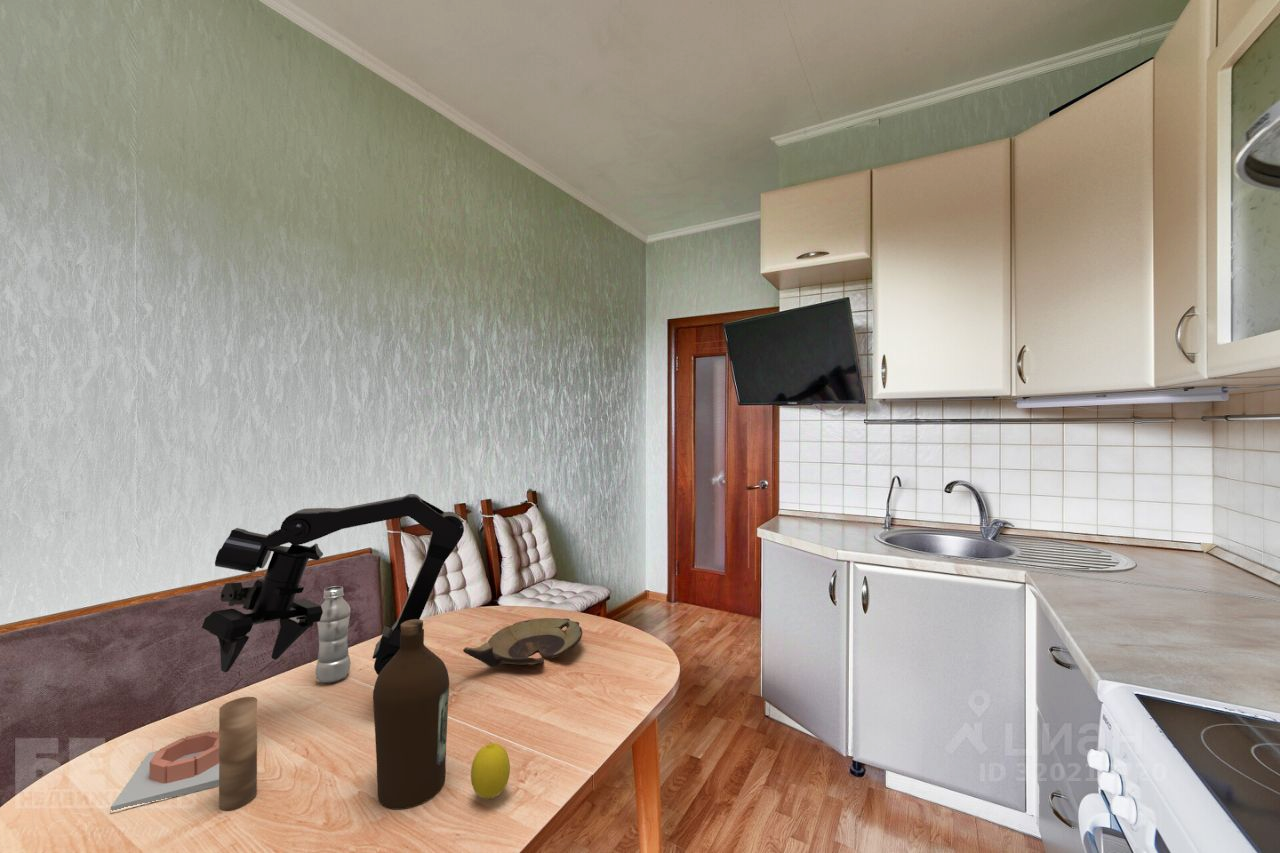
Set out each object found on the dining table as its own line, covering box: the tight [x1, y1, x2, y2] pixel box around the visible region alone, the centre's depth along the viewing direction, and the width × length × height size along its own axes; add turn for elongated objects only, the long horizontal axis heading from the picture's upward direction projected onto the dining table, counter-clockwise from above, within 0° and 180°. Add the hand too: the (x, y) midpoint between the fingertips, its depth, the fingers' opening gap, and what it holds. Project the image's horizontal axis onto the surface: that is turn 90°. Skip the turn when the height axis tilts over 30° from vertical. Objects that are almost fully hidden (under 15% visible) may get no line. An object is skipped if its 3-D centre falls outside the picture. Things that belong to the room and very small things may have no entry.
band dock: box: [110, 730, 219, 811], centre depth 82 cm, size 14×14×4 cm
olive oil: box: [372, 619, 450, 810], centre depth 78 cm, size 11×11×25 cm
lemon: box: [470, 742, 511, 800], centre depth 75 cm, size 6×6×8 cm
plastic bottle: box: [315, 585, 352, 684], centre depth 112 cm, size 6×7×20 cm
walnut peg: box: [218, 696, 258, 812], centre depth 75 cm, size 4×4×14 cm
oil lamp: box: [462, 617, 583, 668], centre depth 123 cm, size 22×30×8 cm
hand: (250, 664), depth 91 cm, fingers open, 9 cm apart
